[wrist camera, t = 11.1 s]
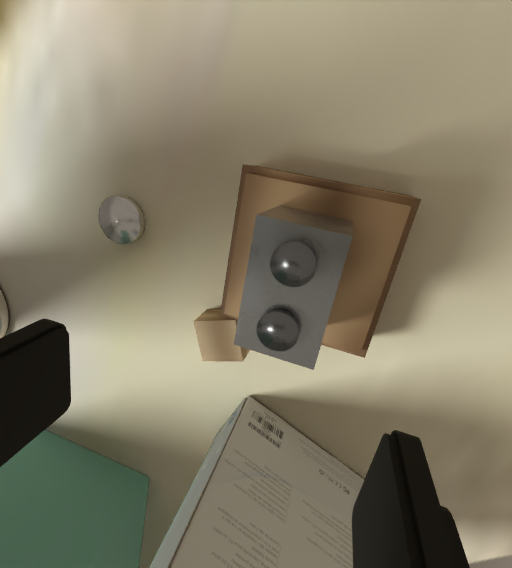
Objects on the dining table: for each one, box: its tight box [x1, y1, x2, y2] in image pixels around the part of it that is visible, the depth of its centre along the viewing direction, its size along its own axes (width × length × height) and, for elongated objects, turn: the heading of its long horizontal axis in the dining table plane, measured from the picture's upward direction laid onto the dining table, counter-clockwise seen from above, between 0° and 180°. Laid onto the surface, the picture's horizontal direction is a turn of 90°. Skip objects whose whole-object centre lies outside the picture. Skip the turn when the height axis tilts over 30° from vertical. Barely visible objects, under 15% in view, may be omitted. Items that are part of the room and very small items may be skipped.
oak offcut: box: [194, 309, 250, 361], centre depth 30 cm, size 4×4×3 cm
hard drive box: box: [149, 397, 364, 568], centre depth 25 cm, size 16×8×20 cm, turn 59°
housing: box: [234, 205, 353, 370], centre depth 20 cm, size 8×5×7 cm, turn 170°
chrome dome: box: [99, 196, 145, 244], centre depth 31 cm, size 4×4×1 cm
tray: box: [220, 165, 421, 358], centre depth 25 cm, size 12×12×4 cm
